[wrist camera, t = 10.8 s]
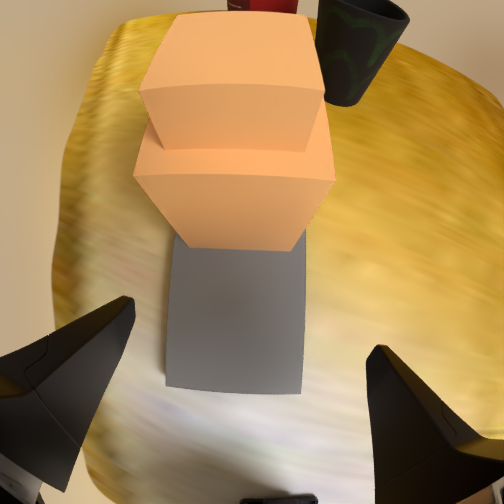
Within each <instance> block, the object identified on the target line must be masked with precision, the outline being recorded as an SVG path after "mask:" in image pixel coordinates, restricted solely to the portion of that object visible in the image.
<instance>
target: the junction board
mask: <svg viewBox="0 0 504 504" xmlns="http://www.w3.org/2000/svg"><path fill="white" fill-rule="evenodd" d="M305 300H306V229H305V230H304V232H303V233H302V235H301V236H300V238H299V239H298V241H297V242H296V244H295V245H294V247H293V249H292V250H291V252H288V251H262V250H236V249H210V248H189V247H188V245H187V244H186V243H185V242H184V241H183V239H182V238H181V237H180V236H179V234H178V233H177V232H176V231H175V237H174V246H173V255H172V265H171V276H170V287H169V301H168V317H167V338H166V386H169V387H176V388H184V389H192V390H201V391H212V392H224V393H240V394H301V386H302V371H303V354H304V332H305Z"/></svg>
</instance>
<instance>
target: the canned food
mask: <svg viewBox="0 0 504 504" xmlns="http://www.w3.org/2000/svg"><path fill="white" fill-rule="evenodd" d="M297 6H298V0H227V7H228V11H262V12H278V13H289V14H296V12H297Z"/></svg>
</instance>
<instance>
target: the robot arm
mask: <svg viewBox="0 0 504 504" xmlns="http://www.w3.org/2000/svg"><path fill="white" fill-rule="evenodd" d="M135 317H136V315H135V301H134V299H133V298H132V297H128V296H121V297H119V298H117V299H115V300H113V301H111V302H109V303H107V304H105V305H103V306H101V307H100V308H98V309H96V310H94V311H92V312H90V313H88V314H86V315H84V316H82V317H80V318H79V319H77V320H75V321H73V322H71V323H69V324H67V325H65V326H64V327H62V328H60V329H58V330H56V331H54V332H52V333H51V334H49V336H48V335H47V336H45V337H43V338H41V339H39V340H37V341H35V342H34V343H32V344H30V345H27V346H25V347H23V348H21V349H19V350H16V351H14V352H12V353H9V354H7V355H4V356H2V357H0V504H45V503H44V501H43V499H42V497H41V494H40V492H39V490H40V487H41V484H42V482H45V483H47V484H48V485H50V486H52V487H54V488H56V489H58V490H60V491H62V492H63V493H64V492H65V490H66V487H67V485H68V482H69V479H70V476H71V473H72V470H73V467H74V465H75V462H76V459H77V457H78V454H79V452H80V448H81V446H82V444H83V441H84V439H85V436H86V434H87V431H88V429H89V426H90V424H91V422H92V419H93V417H94V415H95V412H96V410H97V408H98V406H99V403H100V401H101V399H102V397H103V395H104V392H105V390H106V388H107V386H108V384H109V382H110V380H111V377H112V375H113V373H114V371H115V369H116V367H117V365H118V363H119V361H120V359H121V357H122V354H123V352H124V349H125V346H126V343H127V340H128V338H129V335H130V332H131V330H132V327H133V324H134V322H135ZM366 379H367V399H368V408H369V416H370V425H371V435H372V446H373V459H374V477H375V504H504V440H498V439H488V438H485V437H483V436H481V435H479V434H478V433H477V432H476V431H475V430H474V429H472V428H471V427H470V426H469V425H468V424H467V423H466V422H464V421H463V420H462V419H461V418H460V417H459V416H458V415H457V414H456V413H454V412H453V411H452V410H451V409H450V408H449V407H448V406H447V405H446V404H445V403H444V402H443V401H441V399H440V398H439V397H438V396H437V395H436V393H435V392H434V391H433V390H432V389H431V388H430V387H429V386H428V385H427V384H426V383H425V382H424V381H423V380H422V379H421V378H420V377H419V376H417V375H416V374H415V373H414V372H413V371H412V370H411V369H410V368H409V367H408V366H407V365H406V364H405V363H404V362H403V361H402V360H401V359H400V358H399V357H398V356H397V355H396V354H395V353H394V352H393V351H392V350H391V349H390V348H389V347H388V346H386V345H380V344H378V345H376V346H375V347H374V349H373V350H372V352H371V353H370V355H369V356H368V358H367V360H366ZM313 500H314V501H313ZM310 501H312V502H310ZM244 503H247V504H318V499H317V497H315V496H310V497H299V498H285V499H242V500H241V501H240V502H239V504H244Z"/></svg>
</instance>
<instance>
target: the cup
mask: <svg viewBox="0 0 504 504" xmlns="http://www.w3.org/2000/svg"><path fill="white" fill-rule="evenodd" d="M409 22H410V18H409V17H408V15H407V13H406V12H405V11H404V10H402V9H401V8H400V7H399V6H397V5H396V4H394V3H393V2H391V1H390V0H319V6H318V17H317V28H316V38H315V48H316V52H317V56H318V61H319V65H320V69H321V73H322V78H323V83H324V87H325V93H324V101H326V102H328V103H331V104H333V105H337V106H343V107H348V106H353V105H355V104H357V103H358V102H359V100H360V99H361V97H362V96H363V94H364V92H365V91H366V89H367V88H368V86H369V85H370V83H371V82H372V80H373V78H374V77H375V75H376V74H377V72H378V71H379V69H380V68H381V66H382V64H383V63H384V61H385V60H386V58H387V57H388V55H389V53H390V52H391V50H392V49H393V47H394V46H395V44H396V42H397V41H398V39H399V38H400V36H401V34H402V33H403V31H404V30H405V28H406V27H407V25H408V23H409Z"/></svg>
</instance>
